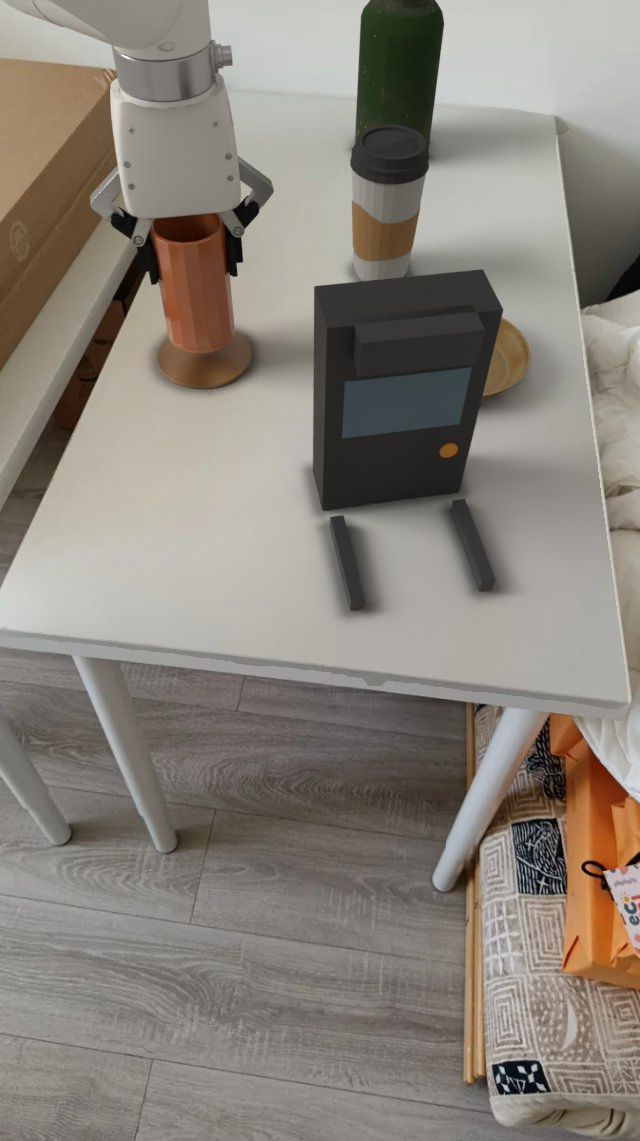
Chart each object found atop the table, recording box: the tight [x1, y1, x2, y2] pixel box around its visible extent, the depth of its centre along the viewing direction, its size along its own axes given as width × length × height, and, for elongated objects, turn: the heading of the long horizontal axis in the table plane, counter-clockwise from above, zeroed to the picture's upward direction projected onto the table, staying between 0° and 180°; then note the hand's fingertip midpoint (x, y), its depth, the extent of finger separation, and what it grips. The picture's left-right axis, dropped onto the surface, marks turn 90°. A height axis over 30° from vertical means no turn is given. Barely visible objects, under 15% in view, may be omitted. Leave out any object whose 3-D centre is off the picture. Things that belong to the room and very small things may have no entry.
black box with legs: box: [312, 268, 504, 611], centre depth 61 cm, size 13×16×20 cm
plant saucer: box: [482, 317, 532, 400], centre depth 81 cm, size 15×15×3 cm
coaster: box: [156, 330, 253, 390], centre depth 82 cm, size 10×10×1 cm
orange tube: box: [149, 213, 236, 354], centre depth 75 cm, size 7×7×12 cm
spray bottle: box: [354, 0, 445, 151], centre depth 98 cm, size 10×10×25 cm
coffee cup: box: [349, 124, 430, 281], centre depth 86 cm, size 8×8×15 cm
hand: (193, 271), depth 74 cm, fingers closed on orange tube, 6 cm apart
